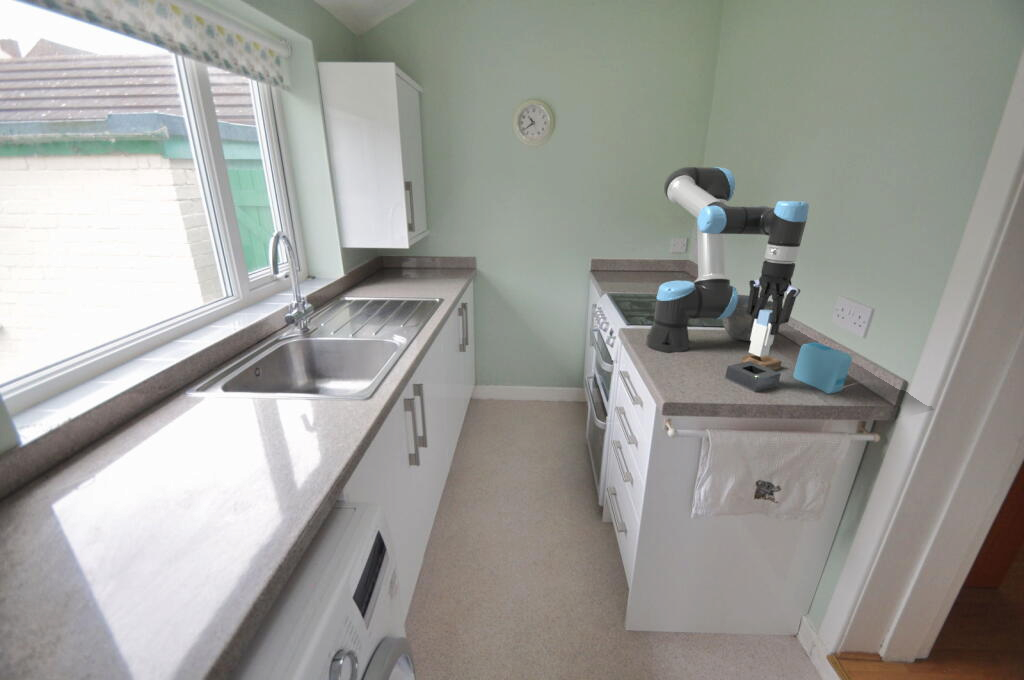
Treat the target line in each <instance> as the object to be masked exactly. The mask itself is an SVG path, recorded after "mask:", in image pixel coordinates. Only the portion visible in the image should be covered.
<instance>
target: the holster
mask: <svg viewBox="0 0 1024 680" xmlns="http://www.w3.org/2000/svg"><path fill="white" fill-rule="evenodd" d="M748 361H751V362H754V363H756V364H759V365H761V366H763V367H766V368H768V369H771V370H773V371H776V370H779V369H781V365H782V360H779V359H777V358H774V357H772V356H769V355H766V356H761V357H759V356H756V355H754V354H751V353H749V354H747V355H743V356H742V359H741V362H740V363H743V362H748Z"/></svg>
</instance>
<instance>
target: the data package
mask: <svg viewBox="0 0 1024 680" xmlns="http://www.w3.org/2000/svg"><path fill="white" fill-rule="evenodd" d="M852 361H853V358H852V356H851V354H849V353H848V352H845V351H842V350H839V349H836V348H834V347H831V346H827V345H824V344H822V343H819V342H815V341H814V342H810V343H809V342H808V343H802V345H801V346H800V350H799V352H798V356H797V359H796V363H795V368H794V371H793V376H792V377H793V379H795V380H798V381H800V382H802V383H805V384H806V385H809V386H812V387H814V388H815V389H818V390H821V391H823V394H826V395H831V394H834V393H839V392H841V391H842V390H843V388H844V386H845V381H846V379H847V376H848V373H849V370H850V367H851V364H852Z"/></svg>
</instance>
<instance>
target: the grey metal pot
mask: <svg viewBox="0 0 1024 680" xmlns="http://www.w3.org/2000/svg"><path fill="white" fill-rule="evenodd" d="M759 297H760V296H758V299H759ZM748 300H749V295H745V294H738V301H737V305H736V308H735V310H734V311H733V313H732V314H731V315H730V316H729V317H727V318H724V319H722V325H723V328H724V330H725V332H726V333H727V334H728V335H729V336H730V337H732V338H734V339H736V340H738V341H743V342H751V340H750V337H751V333H752V328H751V322H752V316H751V315H750V314H747V307H748ZM764 309H769V310H772V309H773V300H768V301H767V303H766V306H765V308H764Z"/></svg>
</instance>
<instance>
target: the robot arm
mask: <svg viewBox="0 0 1024 680" xmlns="http://www.w3.org/2000/svg"><path fill="white" fill-rule="evenodd" d="M735 189H736V180H735V176H734V174H733V173H732V171H731V170H730V169H728V168H725V167H719V166H715V167H707V166H706V167H705V166H702V167H701V166H700V167H697V166H685V167H681V168H678V169H676V170H674V171H672V172H671V173H670V174H669V175H668V177H667V178H666V180H665V182H664V186H663V190H664V191H663V192H664V194H665V197H666V198H667V200H669V201H670V202H671V203H672V204H675V205H680V206H681V207H683V209H685V211H687V212H689V214H691V215H692V216H694V217H695V219H696V225H697V226H696V228H697V229H696V232H697V234H696V235H697V273H698V274H697V278H696V279H695V280H694V281H689V280H670V281H666V282H663V283H662V284H660V285H659V287H658V291H657V295H656V302H655V309H654V310H655V311H654V317H653V318H654V319H653V322H652V326H651V327H650V329H649V332H648V334H647V335H646V339H645V344H646V346H647V347H649V348H651V349H653V350H655V351H659V352H664V353H672V354H674V353H682V352H687V351H689V350H690V347H691V341H690V338H689V330H688V326H689V320H690V319H691V320H696V319H697V320H719V319H720V320H721V319H722V320H723V319H724V318H727V317H729V316H730V315H731V314H732V313H733V311H734V310H735V308H736V305H737V301H738V295H739V294H738V290H737V288H736V287H735V286H733V285H731V282H730V281H731V280H730V279H729V277H727V276H726V269H725V265H726V264H725V235H761V236H762V235H763V236H768V239H767V245H766V249H765V253H764V259H765V260H764V261H763V262H762V266H761V276H760V277H759V278H758V279H752V280H749V294H748V296H749V300H748V307H747V314H750V315H751V316H752V322H751V328H752V333H751V337H750V340H752V335H753V331H754V326H755V323H757V320H758V316H759V311H760V310H763V309H764V308H765V306H766V303H767V301H769V298H770V297H771V300H772V302H773V309H772V322H770V323H769V324H768V328H767V333H766V337H765V341H764V345H765V346H768V345H770V346H772V345H773V342H774V340H775V339H774V338H775V336H777V335H778V333H779V331H780V330H779V329H780V325H782V324H788V323H789V320H790V318H791V314H792V311H793V308H794V305H795V302H796V298H797V297H798V295H799V294H800V293H801V289H799V288H795V287H794V286H793V285H792V278H793V276H794V271H795V268H796V263H795V262H796V261H797V260H798V256H799V251H800V247H801V244H802V238H803V235H804V231H805V227H806V224H807V221H808V213H809V209H810V204H809V203H808V202H807V201H796V200H779V201H777V202H776V204H775V207H772V206H771V207H770V206H766V205H764V206H762V205H760V206H731V205H730V206H729V205H728V204H729V202H730V200H731V199H732V198H733V196H734V191H735ZM760 287H761V290H760ZM785 293H786V296H785ZM758 297H759V299H758Z"/></svg>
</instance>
